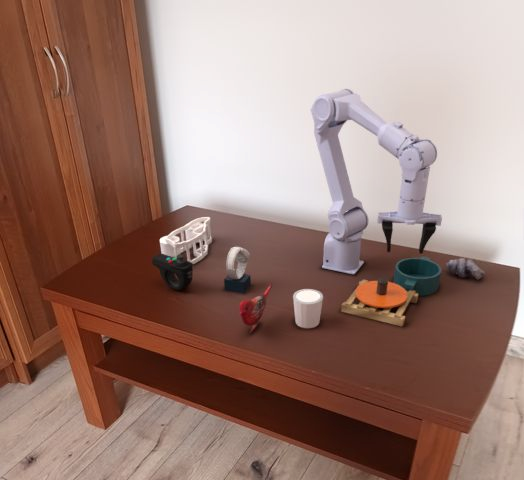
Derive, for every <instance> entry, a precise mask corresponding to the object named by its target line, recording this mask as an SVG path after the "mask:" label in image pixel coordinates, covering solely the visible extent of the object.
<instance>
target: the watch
mask: <svg viewBox="0 0 524 480" xmlns="http://www.w3.org/2000/svg"><path fill="white" fill-rule="evenodd" d="M250 256H251V254H250V252H249V251H248V250H247V249H246V248H244V247H241V246H233V247H231V248H230V249H229V251H228V253H227V257H226V264H225V265H226V271H225V272H226V274H227V275H226V276H225V277H224V279H223V283H224V290H225V291H230V292H234V293H240V294H246V292H247V291H248V290H249V289H250V287H251V286H252V277H251V274H249V273H245V272H246V269H247V264H248V263H249V259H250ZM235 262H236V263H237V267H236V269H235Z"/></svg>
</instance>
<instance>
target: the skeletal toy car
mask: <svg viewBox="0 0 524 480" xmlns="http://www.w3.org/2000/svg"><path fill="white" fill-rule="evenodd" d="M202 222H203V223H202ZM211 223H212V221H211V217H210V216H203V217H201V216H200V217H198V218H195V219H193V220H191V221H189V222H188V223H186V224H185V225H184V226H181V227H178V228H177V229H175V230H173V231H171V232H170V233H169V234H168V235H164V236H162V237H160V239H159V246H160V252H161V253H160V254H165V255H168V256H171V257H174V258H176V256H177V255H179V254H182V253H184V252H186V258H187V259H186V261H189V262H191V263H193V265H194V264H196V263H198V262H200V261H201V260H203V259H204V258H205V257H206V256H207V255H208V251H209V245H210V244H212V243H213V238H212V230H211ZM184 232H185V233H184ZM178 234H180V237H179V236H177V235H178ZM198 243H199V248H197V244H198ZM190 249H193V251H192V252H193V256H194V257H195V258H193V259H191V254H190V252H191V251H190Z"/></svg>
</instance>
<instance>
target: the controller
mask: <svg viewBox="0 0 524 480" xmlns="http://www.w3.org/2000/svg"><path fill="white" fill-rule="evenodd" d="M185 257H186V256H185V254H182V253H180V254H179V255H177V256H176V258H175V257H171V256H168V255H165V254H162V253H158V254H156V255H154V256H152V259H151V264H152V265H153V266H154V267H156V268H157V269H158V270H159V273H160V276H161V278H162V280H163V282H164V283H165V284H166V285H167V286H168V287H169V288H171V289H172V290H174V291H182V290H185V289H186V288H188V287H189V286H190V285H191V283H192V280H193V277H194V276H193V273H194V269H193V265H194V264H193V263H191V262H189V261H188V260H187V259H185Z"/></svg>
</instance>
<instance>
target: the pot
mask: <svg viewBox="0 0 524 480" xmlns="http://www.w3.org/2000/svg"><path fill="white" fill-rule="evenodd" d="M431 259H432V258H431V257H429V256H421V257H408V258H403V259H401V260H399V261H397V263H396V264H395V266H394V274H393V282H392V283H395V284H398V285H400V286H401V287H403V288H404V289H405V290H406V291H410V290H415V291H416V292H415V293H418V297H424V296H430V295H433V294H435V293H436V292H437V291H438V289H439V286H440V282H441V277H442V271H443V270H442V268H441V266H440V264H438V263H437V262H435V261H433V260H431Z"/></svg>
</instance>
